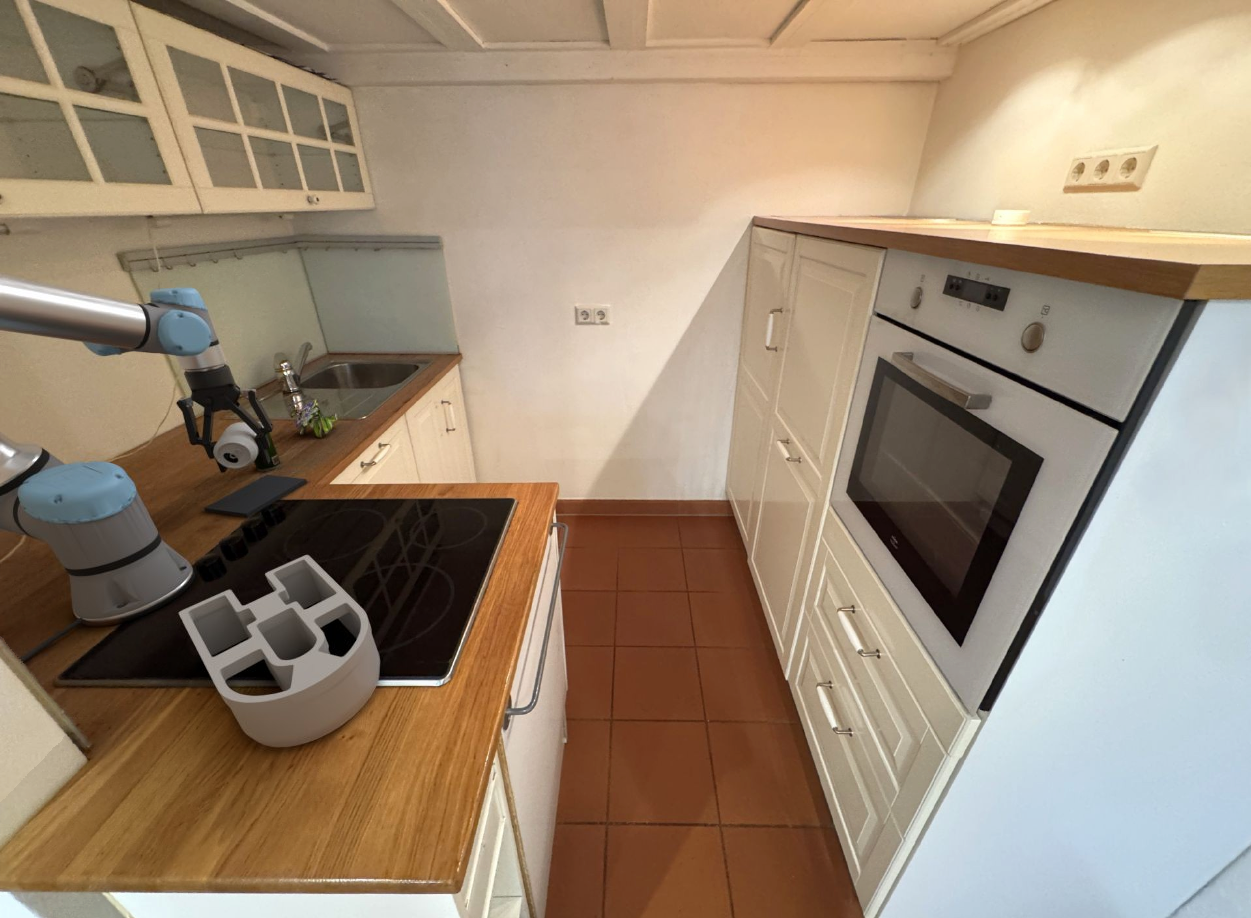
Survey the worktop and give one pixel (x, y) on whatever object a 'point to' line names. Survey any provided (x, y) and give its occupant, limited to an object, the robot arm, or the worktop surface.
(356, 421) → the worktop surface
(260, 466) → the beer can
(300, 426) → the purple flowering plant
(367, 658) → the desk organizer caddy
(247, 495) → the mat
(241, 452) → the can
